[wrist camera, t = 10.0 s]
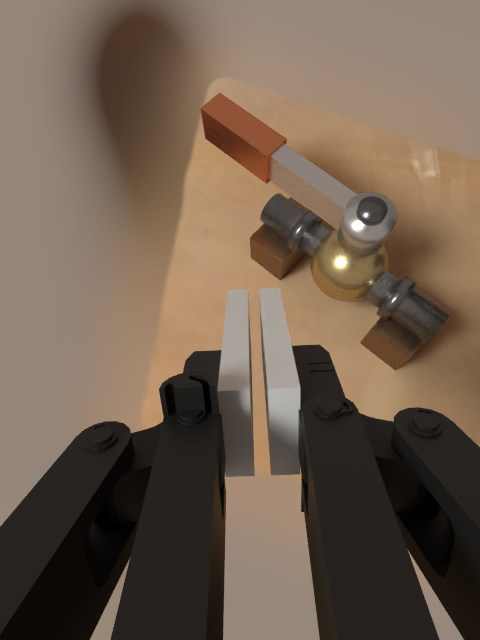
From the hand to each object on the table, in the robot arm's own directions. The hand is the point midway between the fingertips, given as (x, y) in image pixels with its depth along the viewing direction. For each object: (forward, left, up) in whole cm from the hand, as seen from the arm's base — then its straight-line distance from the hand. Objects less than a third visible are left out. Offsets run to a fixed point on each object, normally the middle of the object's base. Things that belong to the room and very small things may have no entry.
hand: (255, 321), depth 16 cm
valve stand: (-4, -14, -23) cm, 27 cm away
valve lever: (+3, -16, -13) cm, 21 cm away
